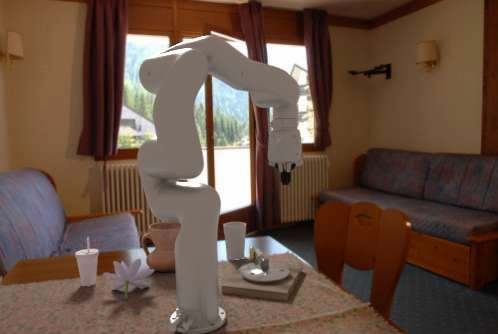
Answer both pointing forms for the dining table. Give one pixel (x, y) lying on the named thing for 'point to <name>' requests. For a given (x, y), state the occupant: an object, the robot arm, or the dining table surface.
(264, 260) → the post and dowel
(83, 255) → the smoothie
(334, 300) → the dining table surface
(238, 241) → the cup
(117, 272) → the water lily
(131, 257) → the dining table surface
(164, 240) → the ceramic jug
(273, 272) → the flange plate
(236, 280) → the base board
